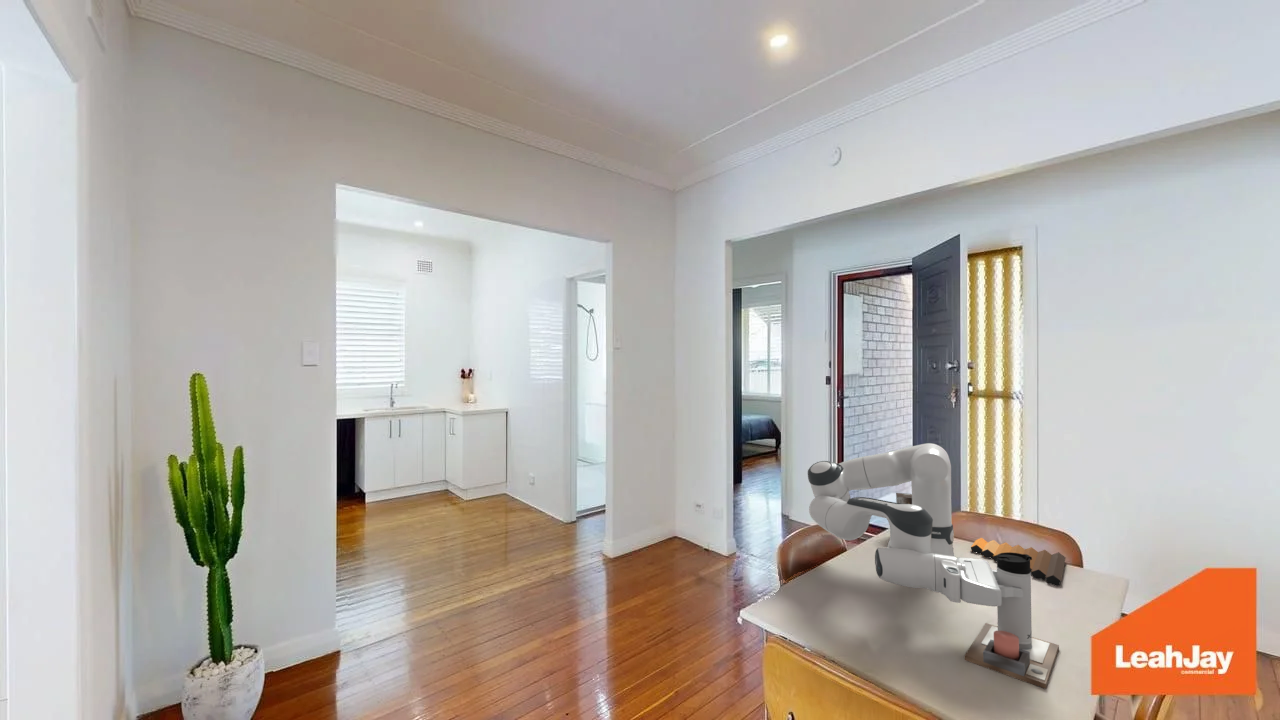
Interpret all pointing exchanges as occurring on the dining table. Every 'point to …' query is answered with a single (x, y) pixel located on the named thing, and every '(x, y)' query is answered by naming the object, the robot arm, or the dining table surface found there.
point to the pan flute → (1039, 565)
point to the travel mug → (1015, 609)
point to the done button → (1006, 644)
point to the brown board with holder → (1028, 668)
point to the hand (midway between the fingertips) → (1019, 586)
